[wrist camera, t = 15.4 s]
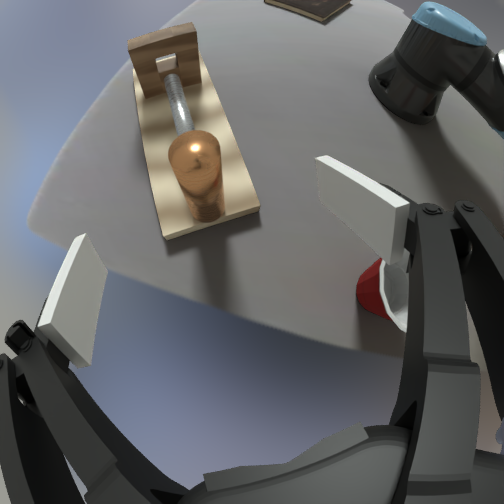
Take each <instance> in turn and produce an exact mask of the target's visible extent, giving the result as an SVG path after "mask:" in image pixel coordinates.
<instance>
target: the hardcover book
mask: <svg viewBox="0 0 504 504" xmlns="http://www.w3.org/2000/svg"><path fill="white" fill-rule="evenodd" d="M350 1H351V0H264V2H267V3H270V4H274V5H277V6H280V7H283V8H286V9H289V10H292V11H295V12H297V13H300V14H303V15H305V16H308V17H311V18H313V19H316V20H318V21H320V22H322V21H324V20H325V19H326V18H328V17H329V16H331V15H332V14H334V13H335V12H337V11H338V10H340V9H341V8H343V7H344V6H346V5H347V4H349V3H350Z"/></svg>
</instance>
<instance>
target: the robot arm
mask: <svg viewBox="0 0 504 504" xmlns="http://www.w3.org/2000/svg"><path fill="white" fill-rule="evenodd" d="M486 44H487V38H486V36H485V35H484V34H483V33H482V32H481V30H479V29H478V28H477V27H475V25H474V24H472V23H471V22H470V21H468V20H467V19H466V18H464V17H463V16H461V15H460V14H458V13H456V12H455V11H453V10H451V9H449V8H447V7H445V6H443V5H441V4H438V3H435V2H424V3H423V4H422V5H421V6H420V7H419V9H418V10H417V12H416V13H415V14H414V15H413V16H412V20H411V22H410V24H409V26H408V28H407V29H406V31H405V33H404V34H403V36H402V38H401V39H400V41H399V43H398V44H397V46H396V48H395V50H394V51H393V52H392V53H391V54H390V55H388V56H387V57H385V58H384V59H383V60H381V61H380V62H379V63H377V64H376V65H375V66H374V67H373V69H372V71H371V73H370V74H369V83H370V86H371V88H372V90H373V92H374V94H375V95H376V96H377V98H378V99H379V100H380V101H381V102H382V103H383V104H384V105H385V106H386V107H387V108H388V109H389V110H391V111H392V112H393V113H395V114H396V115H398V116H399V117H401V118H403V119H405V120H407V121H409V122H412V123H416V124H426V123H428V122H429V121H430V120H431V119H432V118H433V117H434V116H435V115H436V113H437V111H438V108H439V105H440V102H441V99H442V96H443V93H444V91H445V90H446V89H447V88H448V87H449V86H450V85H451V86H453V87H454V88H455V89H456V90H457V91H458V92H459V93H460V94H461V95H462V96H463V97H464V98H465V99H466V100H467V101H468V102H469V103H470V104H471V105H472V106H473V107H474V108H475V109H476V110H477V111H478V112H479V113H480V114H481V116H482V117H483V118H484V119H485V120H486V121H487V122H488V124H489V126H490V127H491V128H492V129H494V130H495V131H496V132H497V133H498V134H499V135H500V136H501V137H502V138H503V139H504V49H503V50H501V51H499V52H498V53H497V54H496V55H495V54H494V53H493V52H492V51H491V50H490V49H489V48H488V47H487V46H486ZM315 162H316V171H317V181H318V191H319V202H320V203H322V204H323V205H324V206H325V207H326V208H327V209H329V210H330V211H331V212H332V213H333V214H334V215H336V216H337V217H338V218H339V219H340V220H341V221H342V222H343V223H345V224H346V225H347V226H348V227H349V228H350V229H351V230H352V231H353V232H355V233H356V234H357V235H358V236H359V237H360V238H361V239H362V240H363V241H364V242H365V243H366V244H367V245H369V246H370V247H371V248H372V249H373V250H374V251H375V252H376V253H377V254H378V255H379V256H380V257H381V258H382V259H383V260H384V261H385V262H386V263H387V264H388V265H392V264H394V263H396V262H398V261H400V260H402V258H403V252H404V248H405V249H406V250H407V251H409V252H410V255H409V260H408V265H407V270H406V273H408V272H409V293H408V317H407V331H406V342H405V352H404V360H403V368H402V375H401V382H400V388H399V393H398V398H397V402H396V405H395V408H394V410H393V413H392V416H391V419H390V423H389V425H376V426H370V427H369V426H368V427H364V428H363V426H362V424H361V422H359V423H357V424H355V425H353V426H351V427H348V428H346V429H345V430H342V431H340V432H338V433H336V434H333V435H331V436H329V437H327V438H324V439H323V440H321V441H320V442H318V443H317V444H315V445H314V446H312V447H311V448H309V449H308V450H307V451H305V452H304V453H302V454H300V455H299V456H297V457H296V458H294V459H293V460H291V461H289V462H287V463H284V464H275V465H259V466H239V467H236V468H231V469H226V470H222V471H217V472H211V473H206V474H203V476H204V480H205V481H203V482H201V483H200V484H198V485H196V486H195V487H193V488H192V489H191V490H188V489H187V488H185V487H183V486H182V485H180V484H178V483H177V482H175V481H173V480H171V479H170V478H168V477H167V476H166V475H165V474H163V473H162V472H161V471H160V470H159V469H158V468H157V467H155V466H154V465H153V464H152V463H151V462H150V461H149V460H148V459H147V458H146V457H145V456H144V455H143V454H142V453H141V452H140V451H138V449H136V447H135V446H133V444H132V443H131V442H130V441H129V440H128V439H127V438H126V437H125V436H124V435H123V434H122V433H121V432H120V431H119V430H118V428H117V427H116V426H115V425H114V424H113V423H112V422H111V421H110V419H109V418H108V417H107V416H106V415H105V414H104V412H103V411H102V410H101V409H100V408H99V406H98V405H97V404H96V402H95V401H94V400H93V399H92V397H91V396H90V395H89V394H88V392H87V391H86V389H85V388H84V387H83V385H82V384H81V383H80V381H79V380H78V378H77V377H76V376H75V374H74V373H73V372H72V371H71V370H70V369H69V368H68V366H69V361H71V362H72V363H73V364H74V365H75V366H76V367H77V368H82V367H87V366H91V361H92V352H93V345H94V338H95V332H96V326H97V320H98V315H99V310H100V304H101V299H102V294H103V290H104V286H105V281H106V277H107V273H108V271H107V269H106V268H105V266H104V264H103V263H102V261H101V259H100V257H99V256H98V254H97V252H96V250H95V249H94V247H93V245H92V243H91V241H90V239H89V238H88V236H87V234H86V233H85V234H83V235H80V236H78V237H76V238H75V239H74V241H73V243H72V245H71V247H70V249H69V251H68V253H67V255H66V258H65V260H64V262H63V264H62V266H61V269H60V271H59V273H58V275H57V278H56V280H55V282H54V284H53V287H52V289H51V292H50V294H49V296H48V297H47V298H46V300H45V302H44V305H43V309H42V310H41V313H40V316H39V318H38V321H37V324H36V327H35V330H34V332H33V331H32V330H31V329H30V328H29V327H28V326H27V325H26V323H25V322H24V321H23V320H19V321H16V322H15V323H14V324H13V325H12V326H11V327H10V328H9V330H8V332H7V334H6V336H5V343H6V344H7V345H8V346H9V347H10V348H11V349H12V350H13V351H14V352H15V353H16V354H17V355H18V356H17V357H15V358H14V359H12V360H11V359H10V358H9V357H8V356H7V355H6V354H1V355H0V465H1V469H2V473H3V477H4V481H5V485H6V488H7V492H8V495H9V498H10V501H11V504H85V502H84V500H83V498H82V496H81V494H80V492H79V490H78V488H77V486H76V484H75V482H74V479H73V477H72V475H71V472H70V470H69V468H68V465H67V463H66V460H65V457H66V459H67V460H68V462H69V463H70V465H71V466H72V468H73V469H74V470H75V472H76V473H77V475H78V476H79V478H80V479H81V480H82V482H83V483H84V485H85V486H86V488H87V490H88V492H87V493H86V494H85V495H84V497H85V501H86V502H87V504H504V239H503V238H502V236H501V235H500V234H499V232H498V231H497V230H496V228H495V227H494V226H493V224H492V223H491V222H490V220H489V219H488V218H487V217H486V215H485V214H484V213H483V212H482V211H481V209H480V208H479V207H478V206H477V205H475V204H474V203H472V202H470V201H467V200H460V201H457V202H456V203H455V208H454V211H451V212H444V210H443V209H442V208H441V207H439V206H437V205H435V204H430V203H422V204H417V203H415V202H414V201H412V200H411V199H409V198H408V197H406V196H404V195H402V194H401V193H400V192H398V191H396V190H395V189H393V188H391V187H390V186H388V185H384V184H381V183H377V182H375V181H373V180H372V179H370V178H368V177H366V176H365V175H363V174H361V173H359V172H358V171H356V170H354V169H352V168H350V167H348V166H347V165H345V164H343V163H341V162H339V161H337V160H335V159H333V158H331V157H329V156H327V155H326V156H321V157H317V158H315ZM471 248H472V251H471ZM465 301H466V304H467V306H468V309H469V312H470V314H471V317H472V320H473V323H474V325H475V328H476V331H477V334H478V337H479V341H480V344H481V347H482V351H483V354H484V358H485V361H486V365H487V369H488V373H489V377H490V381H491V386H492V391H493V395H494V399H495V403H496V406H497V410H498V413H499V416H500V418H501V421H502V423H501V427H500V428H499V429H498V430H497V433H496V440H497V442H498V443H499V444H502V450H501V453H500V454H496V453H492V452H487V451H482V450H478V449H475V448H476V442H477V434H478V423H479V412H480V368H479V366H478V364H477V363H474V362H471V360H470V348H469V333H468V322H467V313H466V305H465ZM19 399H21V400H22V401H23V404H24V405H23V404H22V403H21V402H20V400H19ZM64 455H65V457H64Z"/></svg>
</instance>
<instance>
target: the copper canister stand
mask: <svg viewBox="0 0 504 504" xmlns="http://www.w3.org/2000/svg"><path fill="white" fill-rule="evenodd" d="M128 52H129V54H130V57H131V60H132V63H133V66H134V69H133V78H134V86H135V94H136V102H137V109H138V116H139V122H140V129H141V135H142V140H143V146H144V152H145V157H146V162H147V167H148V172H149V177H150V182H151V186H152V191H153V196H154V200H155V204H156V209H157V213H158V217H159V221H160V225H161V229H162V233H163V236H164V238H165V239H166V240H170V239H173V238H176V237H179V236H182V235H185V234H188V233H191V232H194V231H197V230H200V229H203V228H206V227H209V226H212V225H215V224H219V223H222V222H225V221H228V220H231V219H235V218H238V217H241V216H244V215H248V214H251V213H254V212H258V211H259V209H260V203H259V200H258V197H257V195H256V192H255V189H254V187H253V184H252V182H251V179H250V176H249V174H248V171H247V169H246V166H245V163H244V161H243V158H242V156H241V153H240V150H239V148H238V145H237V143H236V140H235V138H234V135H233V133H232V130H231V128H230V125H229V123H228V120H227V118H226V115H225V113H224V110H223V108H222V105H221V103H220V100H219V98H218V95H217V93H216V91H215V88H214V86H213V83H212V81H211V78H210V76H209V74H208V71H207V69H206V67H205V64H204V62H203V59H202V57H201V55H200V52H199V50H198V42H197V32H196V29H195V27H194V25H193V23H192V22H190V23H185V24H181V25H177V26H173V27H169V28H165V29H162V30H158V31H155V32H151V33H148V34H146V35H142V36H139V37H136V38H133V39H130V40H128ZM173 53H175V55H176V56H173V57H169V58H166V59H162V60H159V61H156V58H159V57H162V56H166V55H169V54H173ZM170 74H177V75H178V76H179V79H180V82H181V85H182V89H183V92H184V95H185V99H186V102H187V105H188V108H189V112H190V115H191V118H192V121H193V124H194V128H195V130H202V131H206V132H209V133H211V134H212V135H214V136H215V137H216V138H217V140H218V141H219V144H220V149H221V162H222V175H223V188H224V200H225V210H224V212H223V214H222V216H221V217H220V218H219V219H218V220H216V221H214V222H211V223H203V222H200V221H198V220H196V219H195V218H194V217H193V215H192V213H191V211H190V209H189V206H188V204H187V202H186V200H185V197H184V195H183V193H182V190H181V188H180V186H179V183H178V181H177V179H176V176H175V174H174V172H173V169H172V167H171V164H170V162H169V159H168V150H169V147H170V145H171V144H172V142H173V141H174V140H175V139H176V138H177V137H178V135H177V131H176V127H175V123H174V120H173V116H172V112H171V108H170V104H169V100H168V96H167V92H166V88H165V83H164V79H165V77H166V76H168V75H170Z"/></svg>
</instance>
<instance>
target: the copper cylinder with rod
mask: <svg viewBox="0 0 504 504" xmlns="http://www.w3.org/2000/svg"><path fill="white" fill-rule="evenodd" d="M164 83H165V88H166V92H167V96H168V100H169V104H170V108H171V112H172V116H173V120H174V123H175V127H176V131H177V135H178V137H177V138H176V139H175V140H174V141H173V142H172V144H171V145H170V147H169V150H168V159H169V162H170V164H171V167H172V169H173V172H174V174H175V176H176V179H177V181H178V183H179V186H180V188H181V190H182V193H183V195H184V197H185V200H186V202H187V204H188V206H189V209H190V211H191V213H192V215H193V217H194V218H195V219H196V220H198V221H200V222H203V223H211V222H214V221H216V220H218V219H219V218H220V217H221V216H222V214H223V212H224V210H225V200H224V188H223V175H222V162H221V149H220V144H219V141H218V140H217V138H216V137H215V136H214V135H212V134H211V133H209V132H206V131H202V130H195V128H194V124H193V121H192V118H191V115H190V112H189V108H188V105H187V102H186V99H185V95H184V92H183V89H182V85H181V82H180V79H179V76H178V75H177V74H170V75H168V76H166V77H165V79H164Z"/></svg>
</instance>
